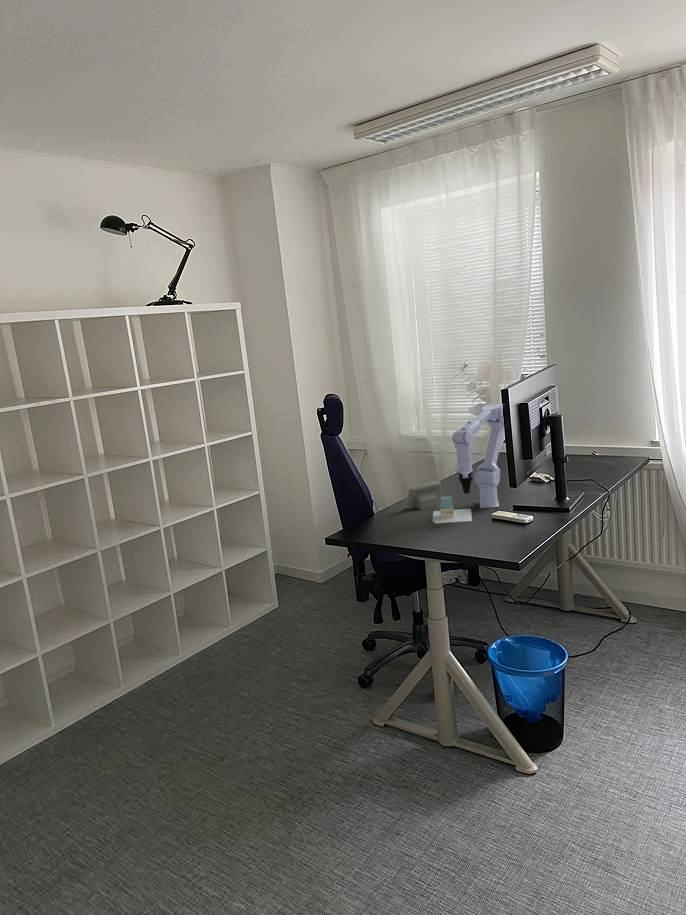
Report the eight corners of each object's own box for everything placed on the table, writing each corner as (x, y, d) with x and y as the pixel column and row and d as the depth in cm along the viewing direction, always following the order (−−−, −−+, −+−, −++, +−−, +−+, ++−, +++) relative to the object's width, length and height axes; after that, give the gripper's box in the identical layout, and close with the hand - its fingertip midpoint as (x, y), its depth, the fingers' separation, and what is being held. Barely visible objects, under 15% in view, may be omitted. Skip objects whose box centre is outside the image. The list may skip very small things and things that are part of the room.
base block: (440, 514, 300) (439, 505, 299) (453, 513, 299) (453, 504, 298) (440, 518, 295) (439, 509, 294) (453, 517, 294) (453, 508, 293)
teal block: (441, 505, 299) (440, 496, 298) (452, 505, 298) (451, 495, 297) (441, 508, 294) (440, 499, 294) (452, 508, 294) (451, 498, 293)
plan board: (433, 512, 307) (433, 511, 307) (470, 509, 304) (470, 508, 304) (432, 524, 289) (432, 523, 289) (472, 521, 287) (472, 520, 286)
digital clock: (439, 502, 322) (437, 479, 320) (446, 506, 313) (444, 483, 311) (405, 507, 319) (402, 484, 317) (411, 512, 310) (408, 489, 308)
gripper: (454, 456, 300) (456, 487, 302) (454, 463, 285) (457, 496, 288) (471, 455, 298) (473, 486, 301) (472, 462, 284) (474, 494, 287)
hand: (466, 491), depth 294 cm, fingers open, 7 cm apart
